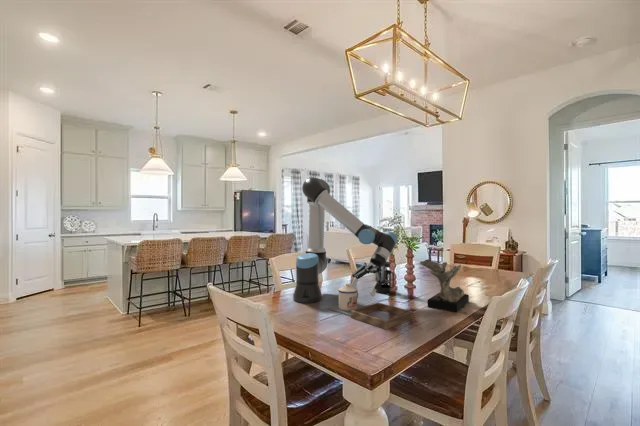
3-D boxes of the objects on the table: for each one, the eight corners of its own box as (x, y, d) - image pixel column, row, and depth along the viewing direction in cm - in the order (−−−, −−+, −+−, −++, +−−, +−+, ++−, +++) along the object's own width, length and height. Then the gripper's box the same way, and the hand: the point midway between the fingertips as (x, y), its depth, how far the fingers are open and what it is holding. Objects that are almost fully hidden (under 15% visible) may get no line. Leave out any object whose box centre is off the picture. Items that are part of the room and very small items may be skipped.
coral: (454, 314, 145) (454, 266, 145) (411, 306, 158) (411, 262, 158) (470, 302, 164) (470, 260, 164) (430, 295, 177) (430, 256, 177)
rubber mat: (327, 308, 154) (327, 307, 154) (349, 302, 164) (349, 301, 164) (350, 316, 143) (350, 315, 143) (372, 309, 153) (372, 308, 153)
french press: (371, 291, 185) (370, 251, 185) (378, 288, 193) (378, 250, 192) (389, 295, 178) (389, 253, 178) (397, 291, 185) (397, 251, 185)
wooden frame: (350, 317, 141) (350, 310, 141) (378, 308, 154) (378, 302, 154) (386, 329, 127) (386, 321, 127) (413, 318, 140) (413, 311, 140)
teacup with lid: (349, 312, 146) (349, 286, 146) (334, 308, 153) (334, 283, 152) (365, 307, 155) (365, 282, 155) (350, 303, 161) (350, 279, 161)
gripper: (403, 265, 159) (384, 301, 150) (364, 259, 178) (346, 291, 169) (396, 255, 156) (377, 292, 146) (358, 250, 175) (338, 283, 165)
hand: (360, 291), depth 157 cm, fingers open, 13 cm apart
